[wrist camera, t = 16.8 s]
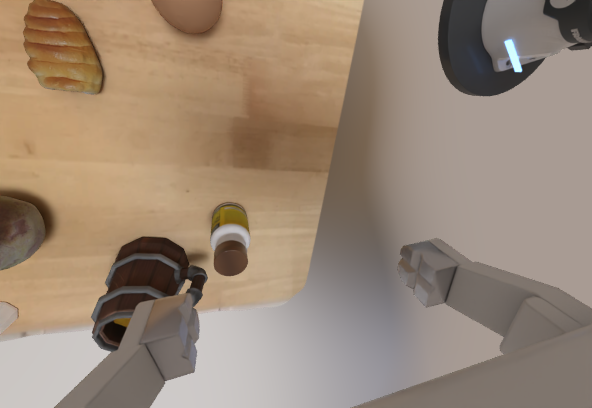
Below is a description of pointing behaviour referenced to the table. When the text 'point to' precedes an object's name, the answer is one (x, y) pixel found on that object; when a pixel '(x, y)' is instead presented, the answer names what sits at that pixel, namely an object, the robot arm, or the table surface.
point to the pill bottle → (229, 225)
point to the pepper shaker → (7, 315)
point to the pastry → (60, 49)
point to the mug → (142, 285)
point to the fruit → (19, 231)
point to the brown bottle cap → (230, 258)
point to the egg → (190, 13)
